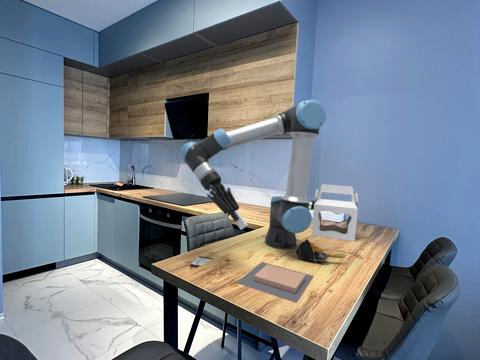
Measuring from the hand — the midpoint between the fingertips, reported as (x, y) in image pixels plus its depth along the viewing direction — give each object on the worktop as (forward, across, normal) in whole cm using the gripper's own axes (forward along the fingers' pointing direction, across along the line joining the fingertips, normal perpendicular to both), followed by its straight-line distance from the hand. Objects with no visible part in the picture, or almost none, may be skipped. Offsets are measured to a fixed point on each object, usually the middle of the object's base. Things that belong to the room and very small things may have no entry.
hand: (244, 227), depth 91 cm
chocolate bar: (+5, +2, -19) cm, 19 cm away
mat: (+21, 0, -2) cm, 21 cm away
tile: (+16, 0, -5) cm, 16 cm away
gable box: (+26, -68, +3) cm, 73 cm away
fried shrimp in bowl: (+27, -26, +4) cm, 37 cm away
